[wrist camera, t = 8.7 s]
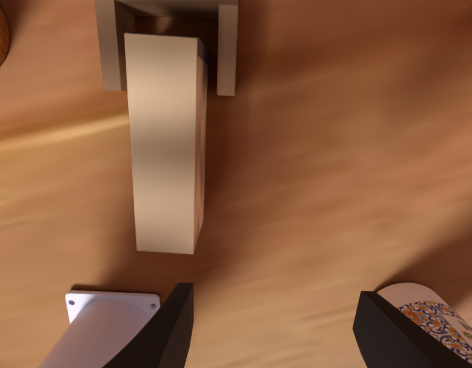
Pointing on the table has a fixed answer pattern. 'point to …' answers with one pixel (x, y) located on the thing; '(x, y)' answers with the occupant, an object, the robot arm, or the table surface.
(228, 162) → the table surface
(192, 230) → the beige rectangular block
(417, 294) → the bath foam
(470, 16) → the table surface
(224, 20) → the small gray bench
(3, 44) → the disposable coffee cup
